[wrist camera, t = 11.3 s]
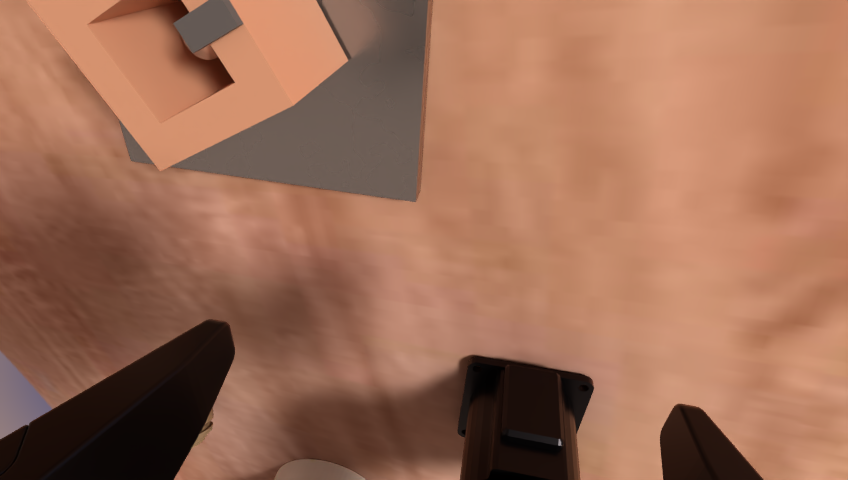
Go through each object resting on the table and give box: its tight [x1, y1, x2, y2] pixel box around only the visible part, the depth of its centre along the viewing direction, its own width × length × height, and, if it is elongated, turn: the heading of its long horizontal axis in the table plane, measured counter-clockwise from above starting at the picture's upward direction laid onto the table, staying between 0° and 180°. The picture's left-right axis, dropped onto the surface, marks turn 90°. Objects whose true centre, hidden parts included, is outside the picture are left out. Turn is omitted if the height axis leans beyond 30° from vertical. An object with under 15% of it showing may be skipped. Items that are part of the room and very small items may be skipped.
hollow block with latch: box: [27, 0, 348, 171], centre depth 15 cm, size 5×5×5 cm
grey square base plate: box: [118, 0, 433, 202], centre depth 17 cm, size 13×13×4 cm
